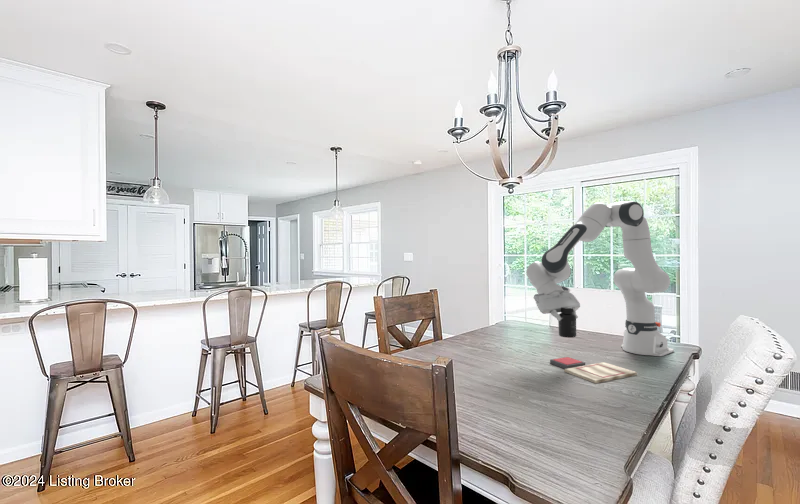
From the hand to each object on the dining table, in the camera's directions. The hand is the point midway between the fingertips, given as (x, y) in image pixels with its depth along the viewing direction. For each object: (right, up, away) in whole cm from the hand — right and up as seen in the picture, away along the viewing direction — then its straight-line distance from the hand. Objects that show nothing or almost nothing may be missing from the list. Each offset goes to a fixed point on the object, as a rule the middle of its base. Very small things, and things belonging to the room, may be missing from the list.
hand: (568, 319), depth 153 cm
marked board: (+8, -19, -10) cm, 23 cm away
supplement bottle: (0, -7, +1) cm, 7 cm away
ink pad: (0, -19, +1) cm, 19 cm away
